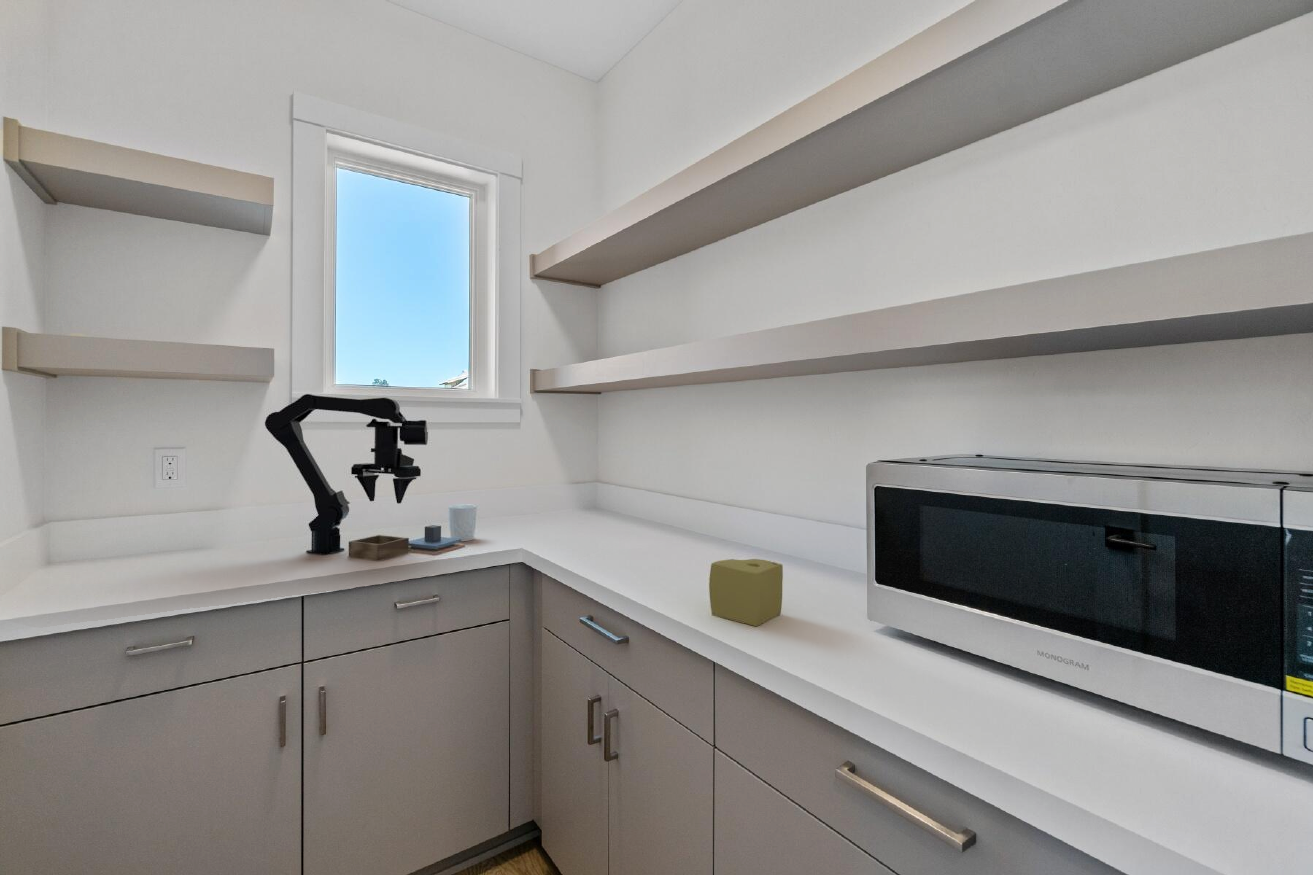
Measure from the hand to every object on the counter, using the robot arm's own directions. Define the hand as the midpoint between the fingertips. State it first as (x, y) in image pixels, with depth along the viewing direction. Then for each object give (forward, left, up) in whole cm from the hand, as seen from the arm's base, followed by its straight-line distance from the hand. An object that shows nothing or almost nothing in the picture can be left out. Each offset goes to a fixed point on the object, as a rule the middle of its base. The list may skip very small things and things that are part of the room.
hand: (385, 502), depth 157 cm
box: (+3, -5, -13) cm, 14 cm away
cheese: (+101, -15, -13) cm, 103 cm away
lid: (+10, +7, -12) cm, 17 cm away
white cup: (+9, +21, -13) cm, 26 cm away
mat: (+10, +7, -13) cm, 18 cm away
